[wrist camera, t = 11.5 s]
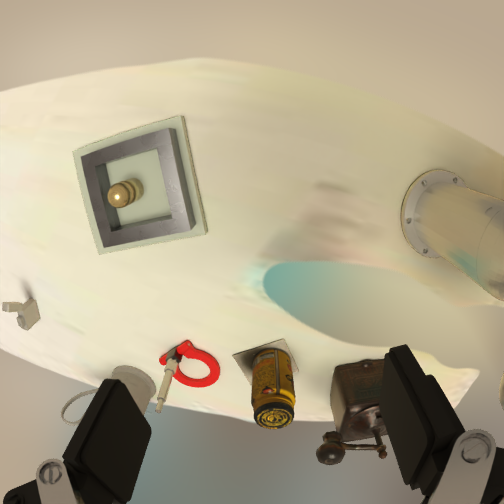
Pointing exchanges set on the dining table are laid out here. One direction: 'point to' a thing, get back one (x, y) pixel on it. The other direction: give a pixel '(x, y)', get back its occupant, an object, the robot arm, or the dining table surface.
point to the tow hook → (173, 371)
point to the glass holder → (134, 381)
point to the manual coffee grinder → (354, 411)
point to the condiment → (270, 383)
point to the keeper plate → (144, 184)
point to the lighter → (24, 312)
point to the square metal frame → (173, 181)
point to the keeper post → (125, 192)
